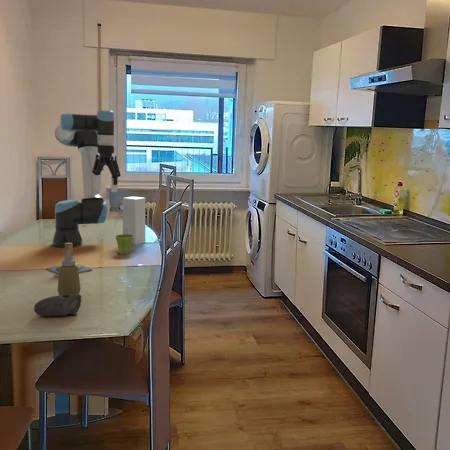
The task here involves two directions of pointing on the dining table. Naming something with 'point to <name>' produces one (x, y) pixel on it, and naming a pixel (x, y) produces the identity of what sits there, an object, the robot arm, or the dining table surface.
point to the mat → (83, 269)
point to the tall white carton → (134, 218)
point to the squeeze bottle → (68, 276)
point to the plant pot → (124, 243)
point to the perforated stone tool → (58, 305)
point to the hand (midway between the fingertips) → (106, 190)
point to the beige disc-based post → (70, 247)
